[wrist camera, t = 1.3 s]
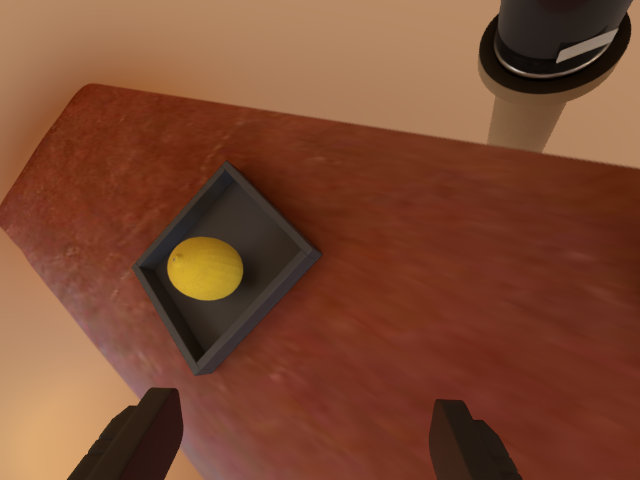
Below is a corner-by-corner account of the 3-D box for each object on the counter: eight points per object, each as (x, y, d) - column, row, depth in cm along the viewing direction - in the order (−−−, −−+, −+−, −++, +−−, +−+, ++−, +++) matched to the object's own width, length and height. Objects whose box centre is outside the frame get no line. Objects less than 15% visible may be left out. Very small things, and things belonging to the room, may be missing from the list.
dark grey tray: (238, 169, 37) (226, 160, 35) (322, 254, 30) (313, 248, 28) (148, 270, 38) (131, 267, 36) (211, 373, 31) (194, 376, 29)
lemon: (234, 239, 34) (176, 213, 27) (269, 269, 32) (215, 250, 24) (202, 281, 34) (136, 267, 27) (234, 315, 32) (171, 310, 24)
